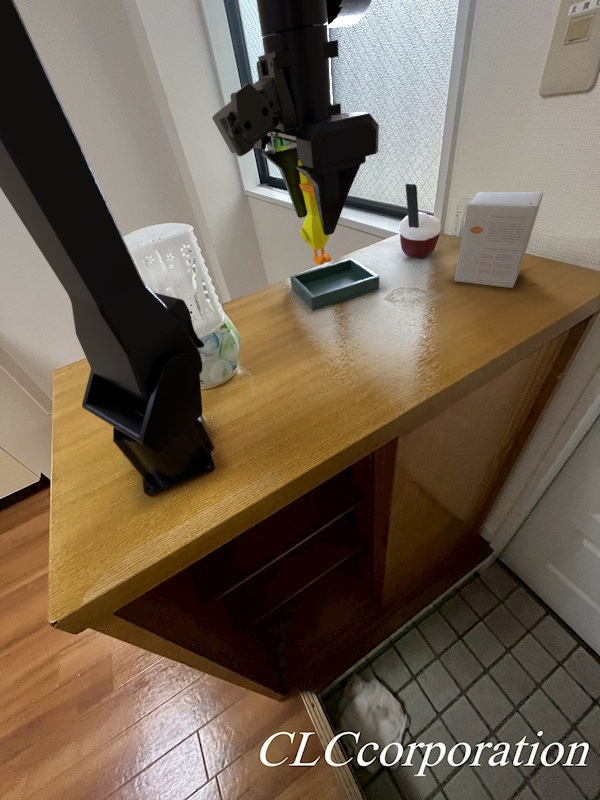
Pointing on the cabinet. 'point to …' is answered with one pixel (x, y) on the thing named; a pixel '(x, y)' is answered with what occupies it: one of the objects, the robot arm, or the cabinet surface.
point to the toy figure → (313, 222)
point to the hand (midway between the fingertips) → (314, 225)
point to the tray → (334, 283)
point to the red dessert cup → (418, 228)
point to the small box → (496, 237)
